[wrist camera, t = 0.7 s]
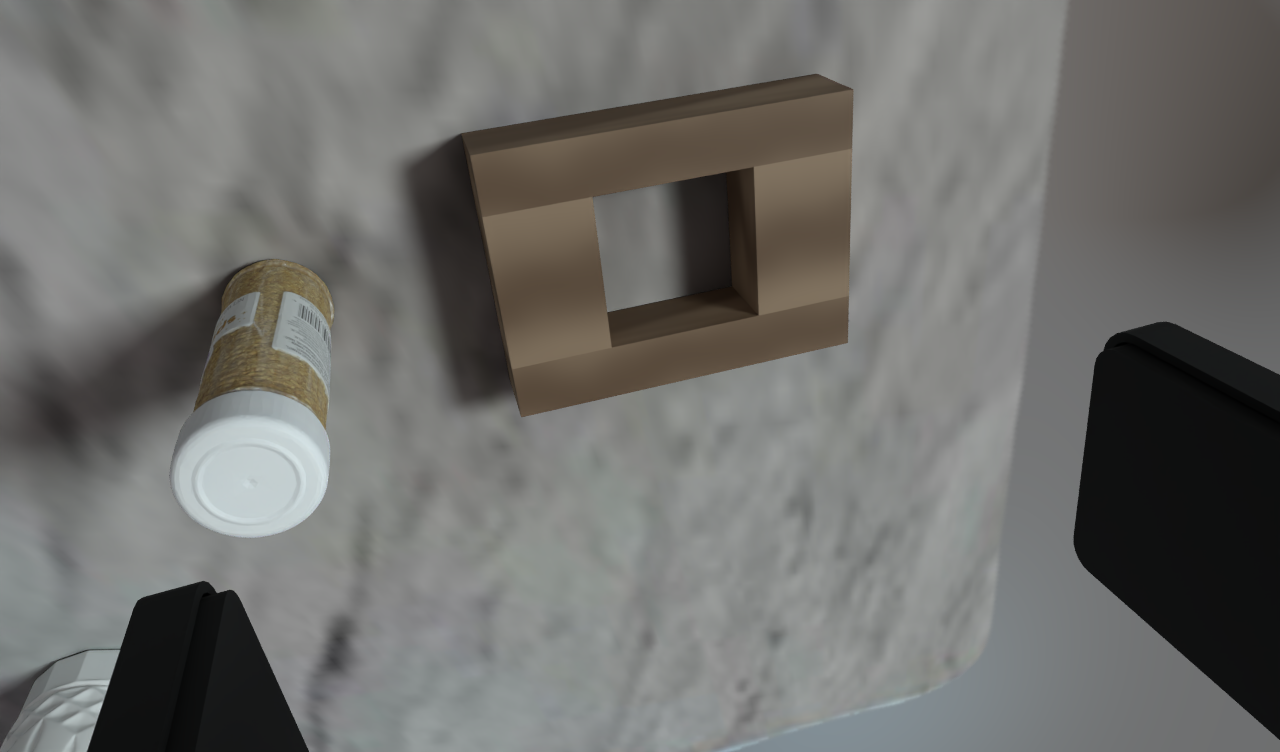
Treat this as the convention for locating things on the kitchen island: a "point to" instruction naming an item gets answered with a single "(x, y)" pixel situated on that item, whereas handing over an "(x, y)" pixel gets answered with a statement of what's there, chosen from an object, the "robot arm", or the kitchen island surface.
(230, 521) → the sprinkles bottle
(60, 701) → the white cup
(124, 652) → the robot arm
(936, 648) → the kitchen island surface
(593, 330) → the walnut holder
